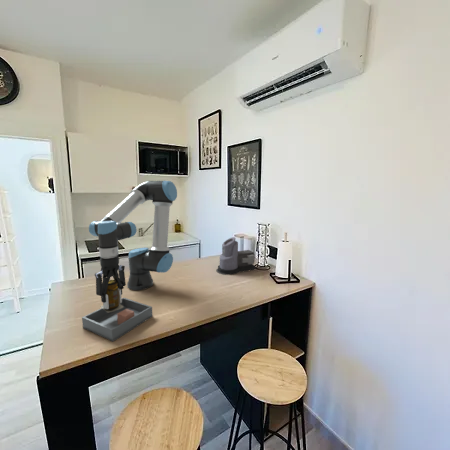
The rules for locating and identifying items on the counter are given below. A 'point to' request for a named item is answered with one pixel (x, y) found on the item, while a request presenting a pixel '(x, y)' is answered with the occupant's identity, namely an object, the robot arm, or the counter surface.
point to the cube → (124, 315)
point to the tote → (116, 320)
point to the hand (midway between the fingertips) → (112, 305)
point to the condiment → (112, 297)
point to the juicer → (234, 259)
